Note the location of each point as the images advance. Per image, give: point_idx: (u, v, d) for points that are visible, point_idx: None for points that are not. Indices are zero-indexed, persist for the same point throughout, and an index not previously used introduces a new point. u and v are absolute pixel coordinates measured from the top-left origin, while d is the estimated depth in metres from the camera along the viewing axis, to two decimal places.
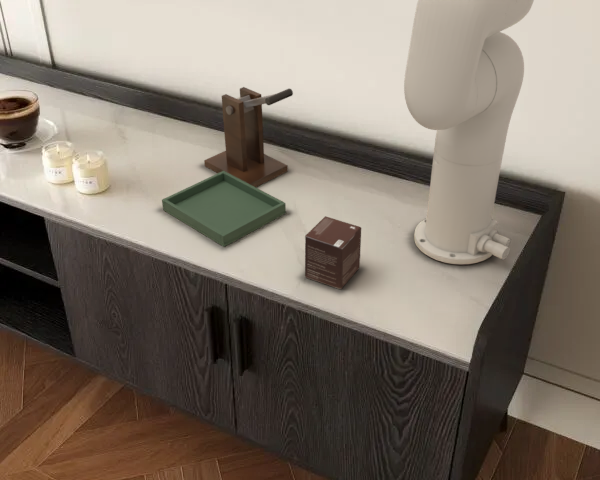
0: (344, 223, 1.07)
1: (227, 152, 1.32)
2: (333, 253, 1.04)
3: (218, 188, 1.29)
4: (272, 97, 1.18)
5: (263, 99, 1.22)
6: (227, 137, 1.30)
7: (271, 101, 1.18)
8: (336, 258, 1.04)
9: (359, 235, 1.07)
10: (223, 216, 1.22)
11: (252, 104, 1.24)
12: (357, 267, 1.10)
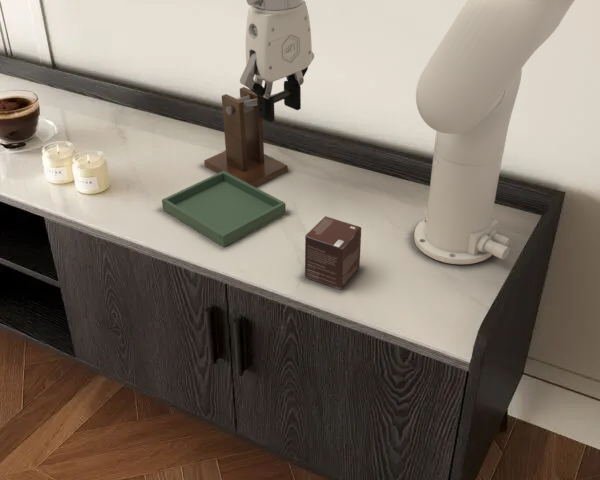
0: (344, 223, 1.07)
1: (227, 152, 1.32)
2: (333, 253, 1.04)
3: (218, 188, 1.29)
4: None
5: None
6: (227, 137, 1.30)
7: None
8: (336, 258, 1.04)
9: (359, 235, 1.07)
10: (223, 216, 1.22)
11: (252, 104, 1.24)
12: (357, 267, 1.10)
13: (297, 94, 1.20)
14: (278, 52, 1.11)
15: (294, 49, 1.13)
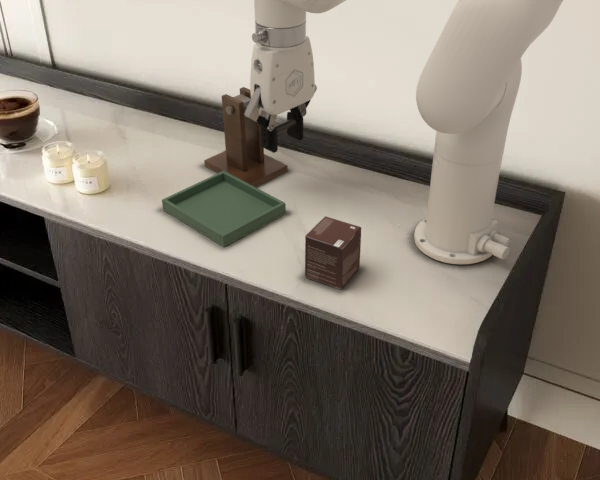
0: (344, 223, 1.07)
1: (227, 152, 1.32)
2: (333, 253, 1.04)
3: (218, 188, 1.29)
4: (278, 128, 1.21)
5: (267, 119, 1.23)
6: (227, 137, 1.30)
7: None
8: (336, 258, 1.04)
9: (359, 235, 1.07)
10: (223, 216, 1.22)
11: None
12: (357, 267, 1.10)
13: (300, 125, 1.23)
14: (282, 87, 1.14)
15: (297, 83, 1.16)
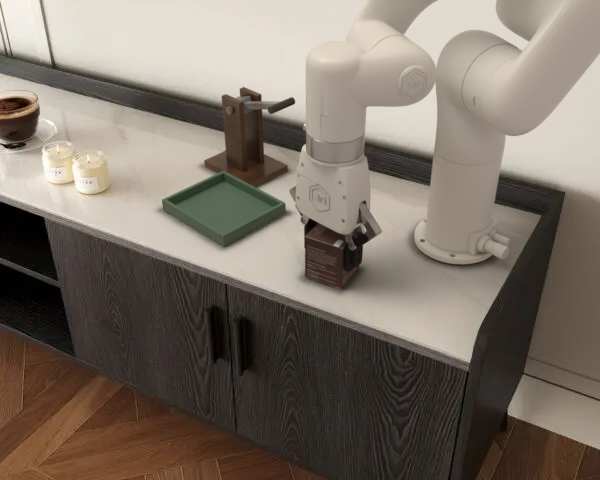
0: None
1: (227, 152, 1.32)
2: (333, 253, 1.04)
3: (218, 188, 1.29)
4: (275, 106, 1.19)
5: (265, 105, 1.22)
6: (227, 137, 1.30)
7: (274, 110, 1.19)
8: (336, 258, 1.04)
9: None
10: (223, 216, 1.22)
11: (253, 107, 1.24)
12: (357, 267, 1.10)
13: (345, 255, 1.04)
14: (306, 191, 1.02)
15: (324, 203, 1.00)
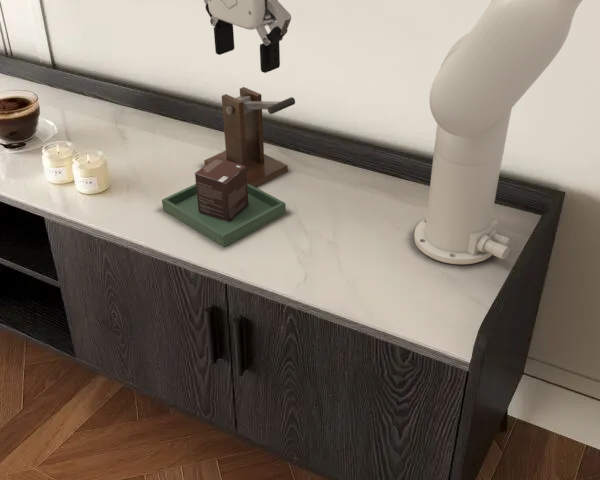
0: (232, 163, 1.20)
1: (227, 152, 1.32)
2: (218, 188, 1.17)
3: None
4: (275, 106, 1.19)
5: (265, 105, 1.22)
6: (227, 137, 1.30)
7: (274, 110, 1.19)
8: (222, 193, 1.17)
9: (244, 173, 1.20)
10: None
11: (253, 107, 1.24)
12: (246, 204, 1.23)
13: None
14: None
15: None
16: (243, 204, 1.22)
